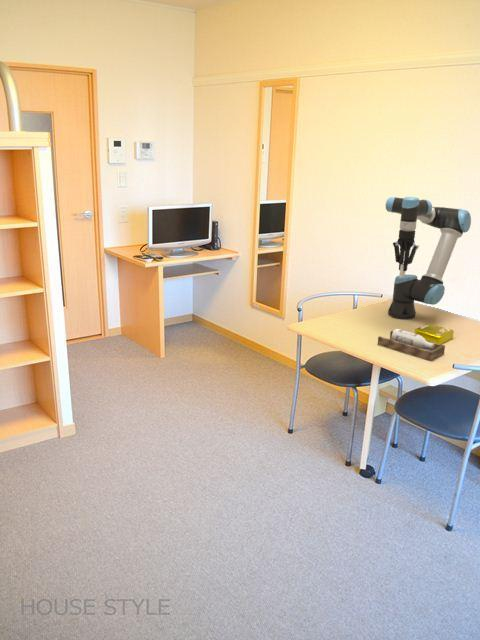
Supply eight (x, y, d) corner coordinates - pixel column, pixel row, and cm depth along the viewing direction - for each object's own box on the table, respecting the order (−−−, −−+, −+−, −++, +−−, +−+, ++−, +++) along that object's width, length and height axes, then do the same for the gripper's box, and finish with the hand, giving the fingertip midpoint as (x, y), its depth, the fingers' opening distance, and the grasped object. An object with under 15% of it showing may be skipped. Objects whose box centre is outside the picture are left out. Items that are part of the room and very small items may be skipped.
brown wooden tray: (377, 344, 262) (378, 337, 260) (391, 338, 270) (392, 330, 269) (431, 361, 243) (432, 352, 242) (443, 353, 252) (445, 345, 251)
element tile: (426, 330, 283) (427, 322, 281) (454, 338, 273) (455, 329, 271) (412, 337, 273) (413, 328, 271) (440, 345, 263) (441, 336, 261)
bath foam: (393, 344, 264) (431, 356, 251) (389, 337, 260) (427, 349, 246) (400, 333, 266) (438, 344, 253) (395, 325, 261) (434, 336, 248)
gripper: (391, 228, 263) (386, 275, 271) (416, 232, 255) (410, 280, 262) (399, 227, 268) (394, 273, 276) (423, 230, 260) (417, 278, 267)
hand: (401, 276), depth 269 cm, fingers closed
